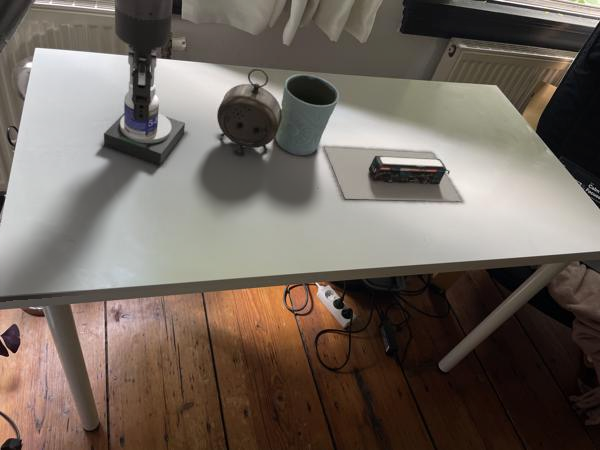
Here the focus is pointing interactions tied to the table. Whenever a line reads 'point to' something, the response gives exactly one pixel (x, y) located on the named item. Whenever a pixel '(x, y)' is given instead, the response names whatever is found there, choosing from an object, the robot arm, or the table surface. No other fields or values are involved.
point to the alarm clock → (249, 115)
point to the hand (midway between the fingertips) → (141, 108)
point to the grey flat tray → (390, 175)
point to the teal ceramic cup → (305, 112)
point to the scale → (146, 148)
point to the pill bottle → (141, 127)
